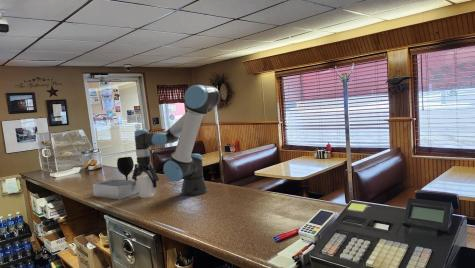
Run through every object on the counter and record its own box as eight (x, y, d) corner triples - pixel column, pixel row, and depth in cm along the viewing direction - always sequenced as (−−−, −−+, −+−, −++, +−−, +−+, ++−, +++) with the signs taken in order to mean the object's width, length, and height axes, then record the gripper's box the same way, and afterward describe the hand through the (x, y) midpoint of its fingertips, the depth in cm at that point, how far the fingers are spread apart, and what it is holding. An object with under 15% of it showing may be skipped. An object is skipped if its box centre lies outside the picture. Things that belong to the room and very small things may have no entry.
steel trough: (139, 193, 198) (138, 181, 198) (119, 200, 186) (117, 187, 185) (114, 190, 212) (113, 178, 211) (93, 196, 199) (92, 184, 198)
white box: (157, 193, 196) (155, 173, 195) (151, 197, 186) (149, 177, 185) (141, 193, 197) (140, 174, 196) (135, 198, 187) (133, 177, 186)
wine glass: (132, 188, 212) (129, 158, 211) (116, 189, 213) (113, 159, 211) (137, 185, 223) (135, 156, 221) (122, 186, 223) (120, 157, 221)
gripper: (163, 155, 186) (166, 192, 188) (134, 154, 200) (137, 188, 201) (153, 157, 180) (156, 195, 181) (124, 156, 193) (127, 191, 195)
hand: (146, 192), depth 191 cm, fingers open, 13 cm apart
